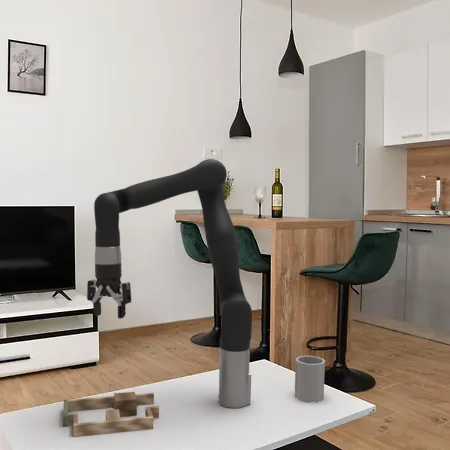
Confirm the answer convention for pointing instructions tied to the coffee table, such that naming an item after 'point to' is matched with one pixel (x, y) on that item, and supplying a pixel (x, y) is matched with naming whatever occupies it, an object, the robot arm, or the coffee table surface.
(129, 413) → the walnut block
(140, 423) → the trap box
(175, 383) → the coffee table surface
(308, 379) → the cup
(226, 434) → the coffee table surface
